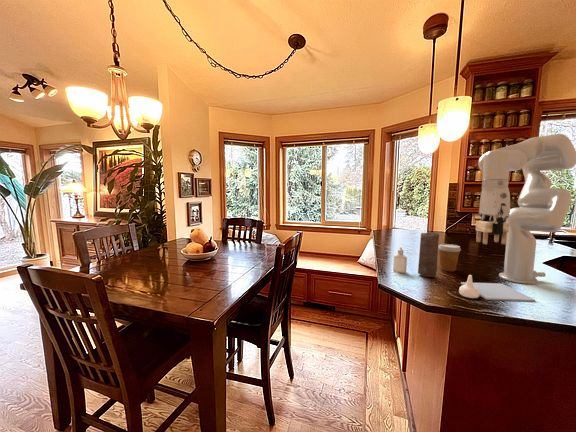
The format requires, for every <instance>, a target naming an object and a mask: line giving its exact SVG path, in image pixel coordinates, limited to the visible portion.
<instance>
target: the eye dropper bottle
mask: <svg viewBox="0 0 576 432" xmlns="http://www.w3.org/2000/svg"><path fill="white" fill-rule="evenodd" d="M407 257H408V256H406V255H404V249H403V247H401V246H399V249H397V253H396V254H395V255H393V268H392V269H393V272H395V273H400V274H406V272H407V262H408V258H407Z"/></svg>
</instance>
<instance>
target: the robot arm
mask: <svg viewBox="0 0 576 432" xmlns="http://www.w3.org/2000/svg"><path fill="white" fill-rule="evenodd" d="M575 166H576V149H575V147H574V144H573V143H572V140H571V139H570V138H569V137H568V136H567V135H566V134H563V133H556V134H549V135H542V136H534V137H530V138H528V139H525V140H523V141H520V142H518V143H516V144H511V145H508V146H504V147H500V148H496V149H493V150H489V151H487V152H485V153H483V154H482V155H481V156H480V157H479V158H478V168H479V170H480V171H481V172H482V179H481V180H482V183H481V192H480V200H479V210H478V211H477V212H478V214H479V215H480V221H492V220H491V219H492V218H493V221H494V223H495V224H493V229H492V232H491V233H492V235H499V236H500V235H501V236H502V234H503V224H504V223H505V222H507V223H509V232H507V240H506V244H505V252H504V264H503V265H504V266H503V271H502V272H499V273H498V277H499V278H500V279H502V280H505V281H509V282H513V283H518V284H524V285H526V284H527V285H535V284H536V285H537V284H538V281H539V279H538V278H540V277H543V278H545V277H547V275H546V272H543V271H541V272H540V271H539V272H538V271H536V270H534V269H535V260H536V252H537V251H536V250H537V249H536V248H537V240H536V237H535V236H534V235H533V233H532V232H531V231H533V232H542V233H556V232H558V231H560V230H561V228H562V227H563V225H564V223H565V220H566V217H567V214H568V212H569V209H570V207H571V202H572V194H571V193H570V191H569V190H568V189H567V188H561V187H551V186H552V180H551V179H550V177H548V176H547V175H546V174H544V173H543V171H558V170H559V171H560V170H569V169H572V168H574V167H575ZM520 170H522V173H523V176H524V185H523V187H522V189H521V191H520V194H519V196H518V197H517V198H518V199H517V204H518V207H512V208H511V194H510V193H511V192H510V189H509V176H510V172H512V171H513V172H514V171H515V172H516V171H520Z"/></svg>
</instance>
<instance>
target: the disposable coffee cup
mask: <svg viewBox="0 0 576 432" xmlns="http://www.w3.org/2000/svg"><path fill="white" fill-rule="evenodd" d="M461 251H462V249H461V246H460V245H457V244H449V243H440V244H438V254H439V267H440V269H441V270H442V271H444V272H445V271H446V272H455V271H457V270H456V269H457V266H458V265H457V264H458V259H459V255H460V252H461Z"/></svg>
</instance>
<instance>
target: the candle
mask: <svg viewBox="0 0 576 432" xmlns="http://www.w3.org/2000/svg"><path fill="white" fill-rule="evenodd" d="M439 241H440V234H439V232H438V233H437V232H421V233H420V241H419V243H420V244H419V255H418V256H419V257H418V264H417V265H418V266H417V267H418V269H417V270H418V271H417V274H419V276H421V277H424V278H428V277H429V278H433V277H437V270H438V254H439V248H438V247H439Z"/></svg>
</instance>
